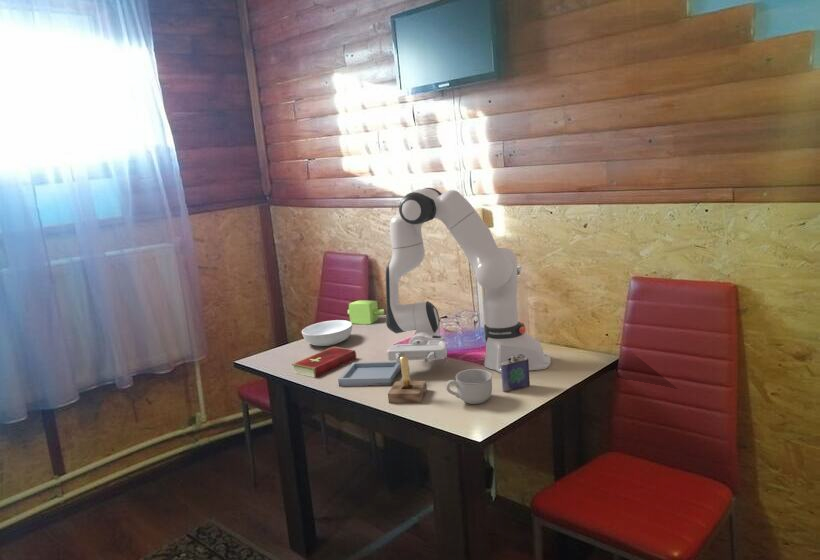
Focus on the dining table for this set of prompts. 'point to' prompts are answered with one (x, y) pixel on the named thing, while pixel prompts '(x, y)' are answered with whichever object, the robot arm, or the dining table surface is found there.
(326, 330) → the serving bowl
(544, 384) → the dining table surface
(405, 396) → the pin block
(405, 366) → the pin
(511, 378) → the flask
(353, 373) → the tray
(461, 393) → the teacup
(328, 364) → the hardcover book
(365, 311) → the gearbox
